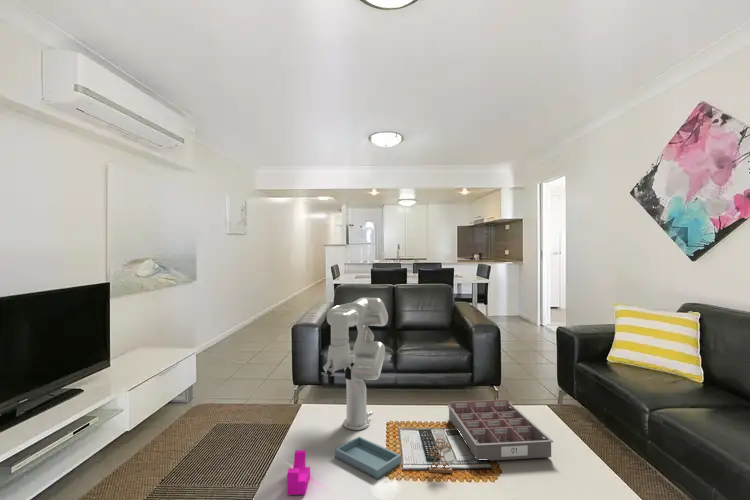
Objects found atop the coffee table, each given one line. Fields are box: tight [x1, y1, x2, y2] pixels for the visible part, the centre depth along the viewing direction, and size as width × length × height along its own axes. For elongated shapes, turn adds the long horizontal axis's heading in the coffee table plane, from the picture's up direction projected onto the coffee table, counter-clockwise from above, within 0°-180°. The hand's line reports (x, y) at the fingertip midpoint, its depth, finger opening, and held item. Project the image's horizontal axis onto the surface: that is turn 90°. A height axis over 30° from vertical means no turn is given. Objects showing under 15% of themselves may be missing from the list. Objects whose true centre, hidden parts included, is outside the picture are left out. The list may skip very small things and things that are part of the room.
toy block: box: [286, 449, 311, 496], centre depth 140 cm, size 15×6×8 cm, turn 1°
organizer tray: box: [446, 399, 554, 461], centre depth 171 cm, size 32×40×10 cm
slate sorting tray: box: [334, 436, 402, 481], centre depth 153 cm, size 14×23×4 cm, turn 48°
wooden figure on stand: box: [428, 437, 454, 474], centre depth 147 cm, size 9×4×12 cm, turn 86°
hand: (339, 381), depth 163 cm, fingers open, 9 cm apart
